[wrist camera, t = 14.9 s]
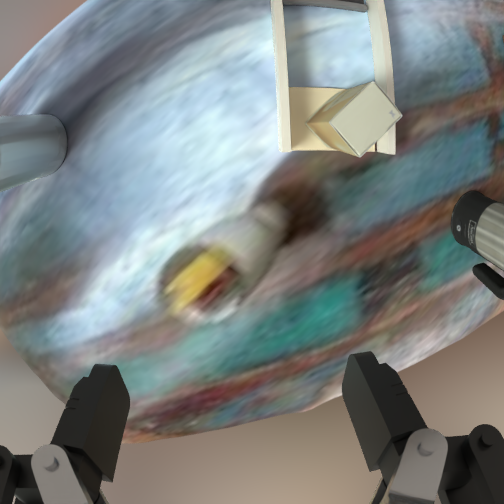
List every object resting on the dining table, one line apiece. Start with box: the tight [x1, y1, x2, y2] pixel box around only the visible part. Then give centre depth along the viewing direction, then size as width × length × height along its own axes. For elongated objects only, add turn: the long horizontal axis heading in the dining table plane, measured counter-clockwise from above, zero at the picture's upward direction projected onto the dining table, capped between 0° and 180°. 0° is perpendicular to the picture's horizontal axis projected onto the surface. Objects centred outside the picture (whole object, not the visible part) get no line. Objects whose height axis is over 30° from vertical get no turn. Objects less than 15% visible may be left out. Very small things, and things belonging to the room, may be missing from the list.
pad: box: [289, 87, 375, 152], centre depth 34 cm, size 11×8×1 cm
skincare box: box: [305, 81, 402, 157], centre depth 29 cm, size 6×4×12 cm
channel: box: [270, 0, 395, 154], centre depth 29 cm, size 14×27×4 cm, turn 3°
